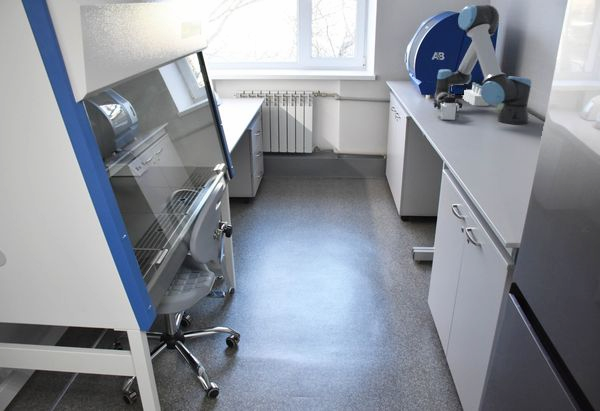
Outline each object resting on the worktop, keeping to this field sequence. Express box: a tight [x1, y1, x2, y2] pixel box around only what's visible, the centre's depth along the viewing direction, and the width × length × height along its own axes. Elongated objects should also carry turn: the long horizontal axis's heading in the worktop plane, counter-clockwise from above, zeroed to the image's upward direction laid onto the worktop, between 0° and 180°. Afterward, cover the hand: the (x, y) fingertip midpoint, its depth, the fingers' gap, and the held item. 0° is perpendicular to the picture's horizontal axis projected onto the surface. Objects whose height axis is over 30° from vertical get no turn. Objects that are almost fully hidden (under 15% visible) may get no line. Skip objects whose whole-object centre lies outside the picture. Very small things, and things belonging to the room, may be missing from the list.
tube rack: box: [462, 82, 490, 107], centre depth 307 cm, size 22×9×11 cm, turn 1°
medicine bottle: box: [440, 95, 457, 121], centre depth 264 cm, size 7×7×12 cm
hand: (450, 108), depth 259 cm, fingers closed on medicine bottle, 7 cm apart
